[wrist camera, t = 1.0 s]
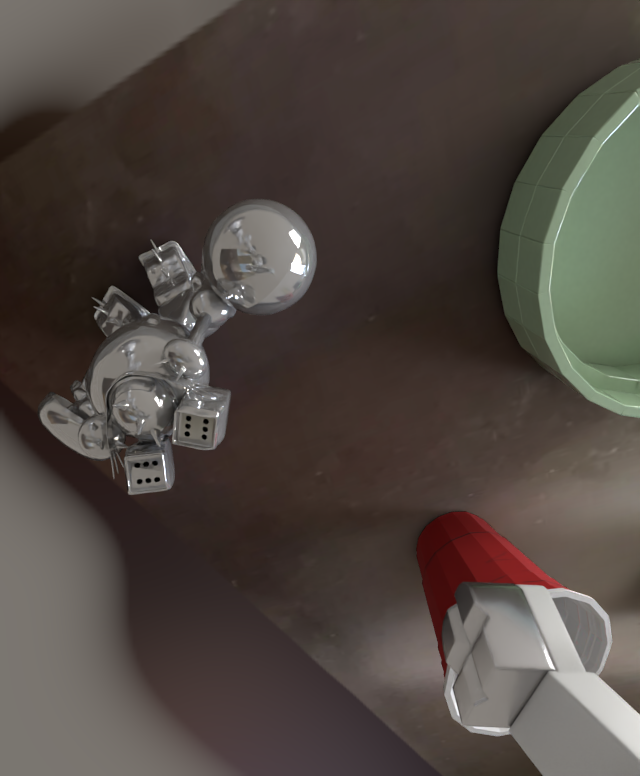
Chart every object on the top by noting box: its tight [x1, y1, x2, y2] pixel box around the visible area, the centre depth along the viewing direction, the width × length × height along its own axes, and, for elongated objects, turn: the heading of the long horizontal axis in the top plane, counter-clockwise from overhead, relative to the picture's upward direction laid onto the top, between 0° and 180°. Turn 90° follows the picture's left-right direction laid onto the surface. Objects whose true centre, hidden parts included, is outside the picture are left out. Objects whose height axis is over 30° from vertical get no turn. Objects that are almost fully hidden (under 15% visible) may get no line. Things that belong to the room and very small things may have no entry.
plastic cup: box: [416, 512, 612, 736], centre depth 39 cm, size 11×11×12 cm
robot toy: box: [38, 199, 317, 495], centre depth 26 cm, size 15×6×15 cm, turn 131°
